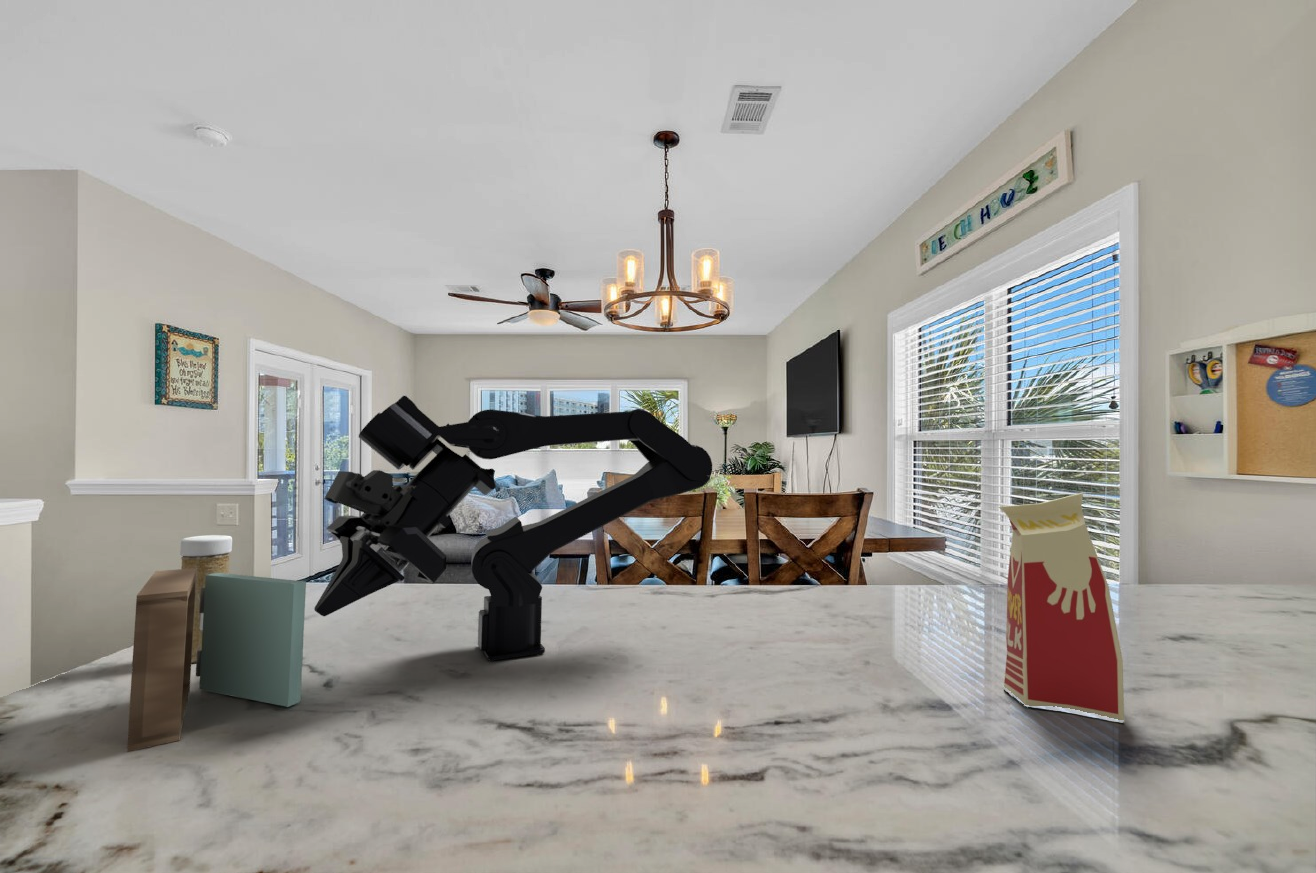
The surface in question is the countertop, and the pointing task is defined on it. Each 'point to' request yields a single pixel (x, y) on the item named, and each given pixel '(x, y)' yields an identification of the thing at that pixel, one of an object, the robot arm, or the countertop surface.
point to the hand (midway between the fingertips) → (318, 613)
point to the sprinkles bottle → (204, 571)
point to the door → (252, 637)
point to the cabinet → (161, 658)
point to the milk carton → (1060, 613)
